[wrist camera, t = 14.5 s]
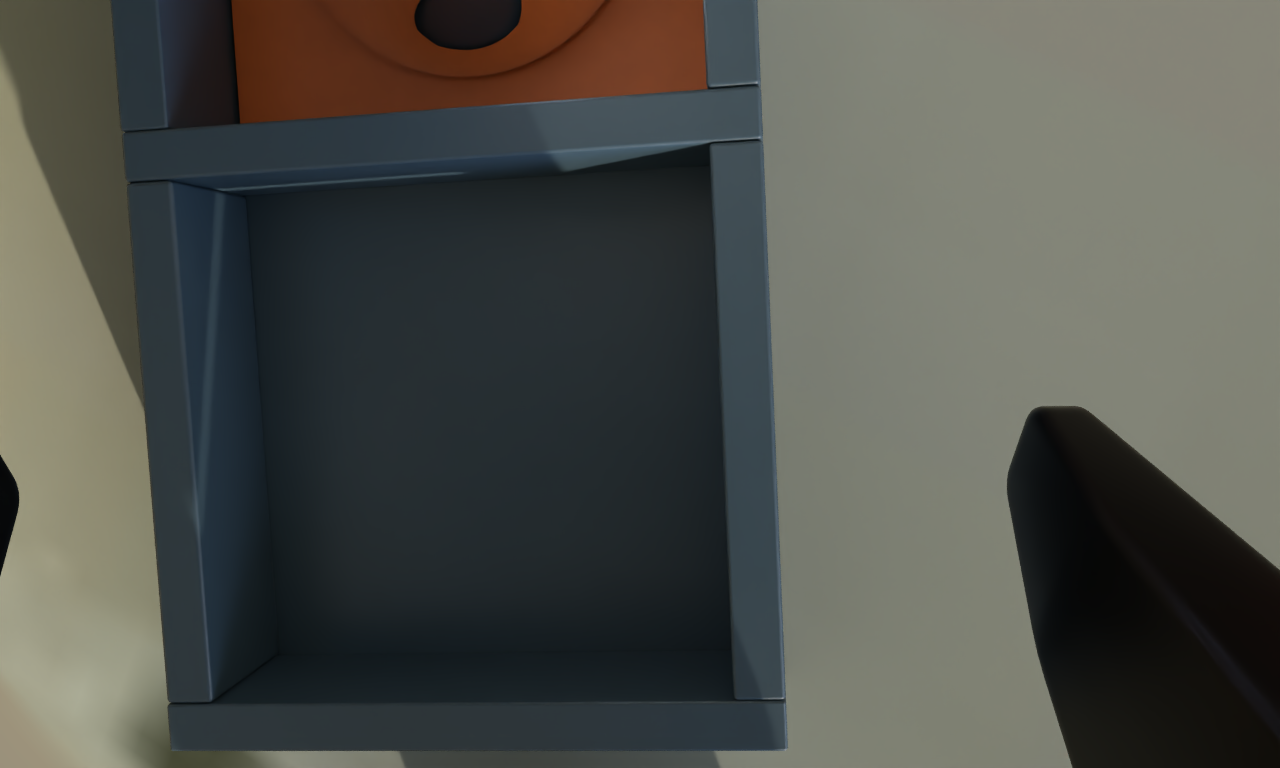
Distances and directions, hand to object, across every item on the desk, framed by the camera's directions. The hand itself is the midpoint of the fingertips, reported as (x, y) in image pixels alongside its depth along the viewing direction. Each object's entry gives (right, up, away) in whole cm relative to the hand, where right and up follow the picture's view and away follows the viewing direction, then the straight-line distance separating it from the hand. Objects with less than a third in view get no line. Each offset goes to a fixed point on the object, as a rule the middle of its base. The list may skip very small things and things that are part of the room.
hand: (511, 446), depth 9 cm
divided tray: (-2, +5, +10) cm, 11 cm away
